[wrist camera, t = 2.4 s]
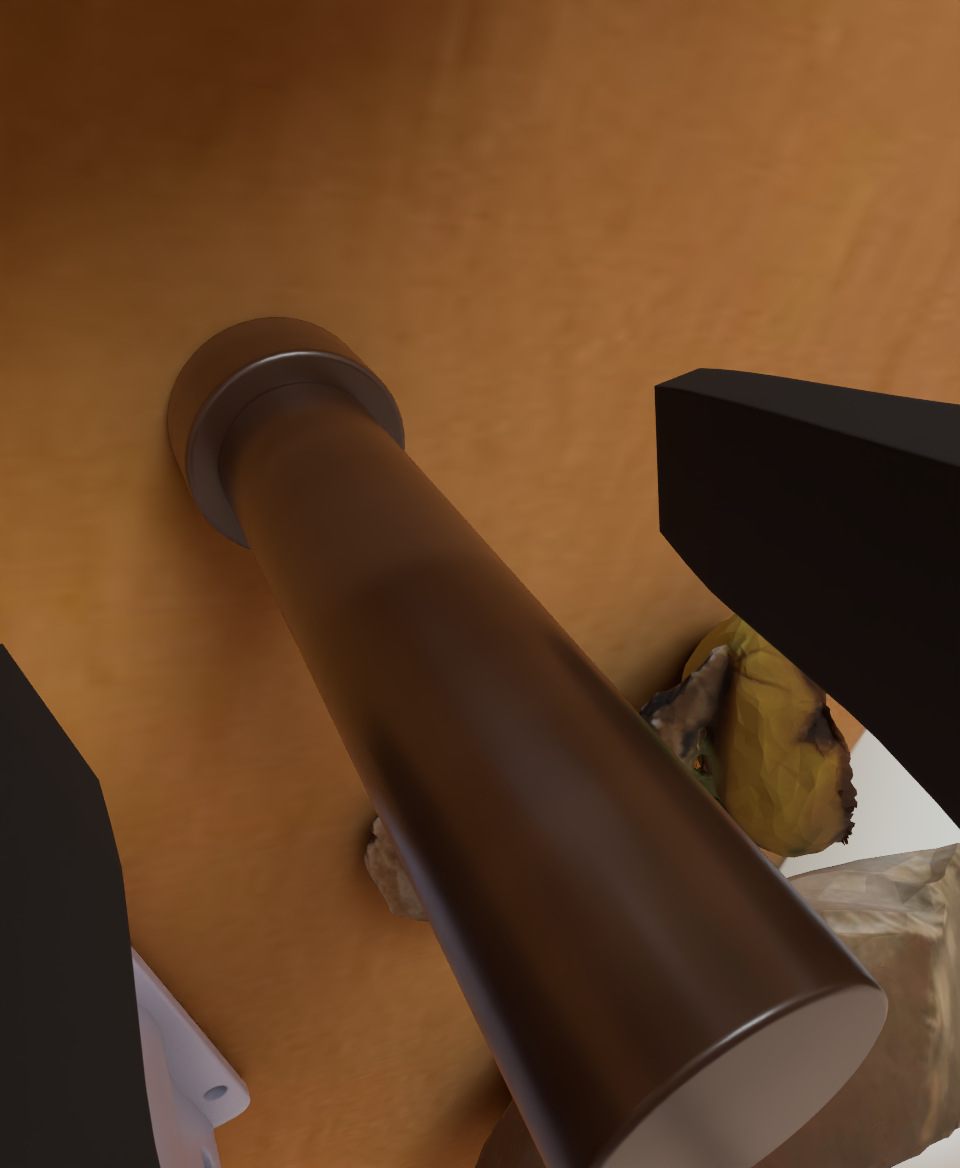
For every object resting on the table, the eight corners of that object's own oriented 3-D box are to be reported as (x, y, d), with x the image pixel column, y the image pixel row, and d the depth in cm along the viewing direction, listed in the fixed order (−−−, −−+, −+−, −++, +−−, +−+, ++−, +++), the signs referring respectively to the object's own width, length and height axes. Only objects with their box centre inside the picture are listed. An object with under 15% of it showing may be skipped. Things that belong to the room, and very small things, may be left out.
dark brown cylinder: (390, 468, 14) (904, 1083, 6) (211, 538, 13) (541, 1331, 6) (342, 286, 12) (993, 846, 4) (130, 356, 11) (458, 1174, 4)
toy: (781, 544, 18) (310, 658, 18) (904, 768, 15) (332, 908, 15) (746, 705, 23) (384, 793, 23) (831, 895, 20) (411, 998, 20)
